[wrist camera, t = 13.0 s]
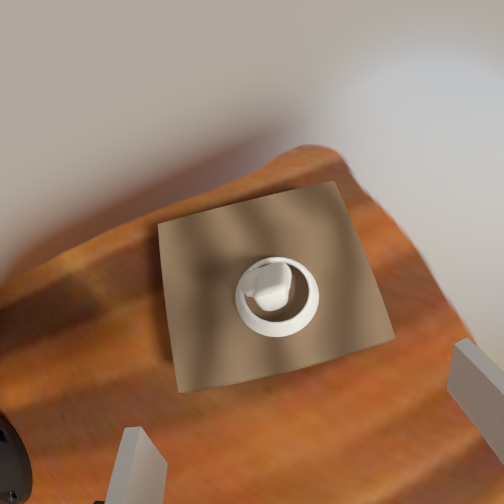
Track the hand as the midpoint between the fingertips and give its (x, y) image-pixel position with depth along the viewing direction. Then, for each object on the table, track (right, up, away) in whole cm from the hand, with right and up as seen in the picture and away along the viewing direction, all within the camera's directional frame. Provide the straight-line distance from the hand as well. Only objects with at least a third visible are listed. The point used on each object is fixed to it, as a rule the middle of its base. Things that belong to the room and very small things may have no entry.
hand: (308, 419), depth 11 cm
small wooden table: (0, +1, +25) cm, 25 cm away
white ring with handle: (0, +2, +18) cm, 18 cm away
